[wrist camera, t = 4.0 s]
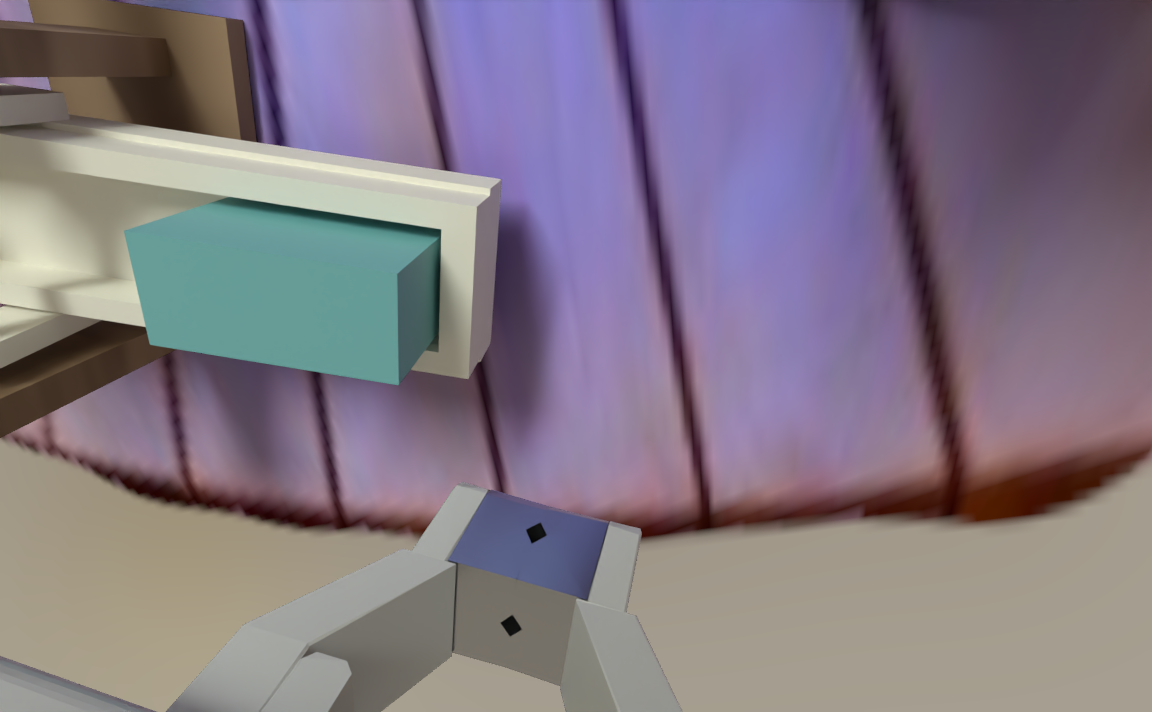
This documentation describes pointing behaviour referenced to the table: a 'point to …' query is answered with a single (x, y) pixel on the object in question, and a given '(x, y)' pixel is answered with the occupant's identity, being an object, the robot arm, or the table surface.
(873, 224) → the table surface
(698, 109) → the table surface
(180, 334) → the rider
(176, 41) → the stand
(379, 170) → the beam
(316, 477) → the table surface
